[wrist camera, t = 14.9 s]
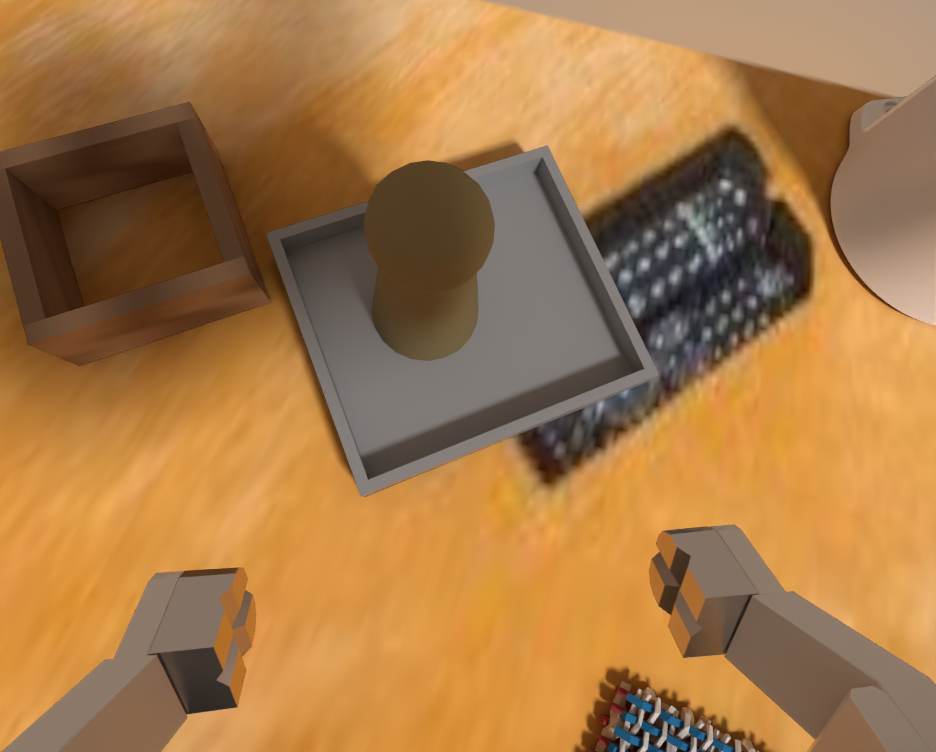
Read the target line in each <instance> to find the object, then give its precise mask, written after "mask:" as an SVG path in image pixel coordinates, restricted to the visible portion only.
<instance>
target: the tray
mask: <svg viewBox="0 0 936 752" xmlns="http://www.w3.org/2000/svg"><path fill="white" fill-rule="evenodd" d="M464 172H465V173H466V174H467V175H469V176H470V177H471V178H472V179H473V180H475V181H476V182H477V183H478V184H479V185H480V186H481V188H482V190H483V191H484V193H485V194H486V196H487V197H488V199H489V201H490V205H491V209H492V213H493V216H494V221H495V230H494V242H493V245H492V248H491V251H490V253H489V255H488V257H487V259H486V262H485V264H484V266H483V267H482V268H481V269H480V270H479V271H478V272H477V283H478V307H479V308H478V319H477V325H476V327H475V329H474V332H473V334H472V336H471V338H470V339H469V340H468V341H467V342H466V343H465V344H464V346H463V347H462V348H461V349H460V350H458V351H456V352H455V353H453V354H451V355H449V356H447V357H445V358H441V359H436V360H431V361H424V360H415V359H410V358H408V357H405V356H403V355H401V354H398V353H396V352H395V351H394V350H393V349H391V348H390V347H389V346H388V345H387V344H386V343H385V342H383V340H382V339H381V337H380V335H379V333H378V332H377V330H376V328H375V326H374V321H373V316H372V304H373V297H374V291H375V284H376V277H377V271H378V266H377V264H376V262H375V261H374V259H373V257H372V256H371V254H370V252H369V249H368V245H367V240H366V235H365V230H364V221H365V214H366V207H367V204H368V201H367V202H364V203H360V204H357V205H354V206H351V207H347V208H344V209H341V210H338V211H335V212H331V213H328V214H325V215H322V216H319V217H315V218H312V219H309V220H306V221H302V222H299V223H296V224H293V225H290V226H286V227H283V228H280V229H277V230H273V231H270V232H267V233H266V236H267V239H268V241H269V244H270V247H271V250H272V252H273V255H274V258H275V261H276V263H277V266H278V269H279V272H280V274H281V277H282V280H283V283H284V285H285V288H286V291H287V294H288V297H289V299H290V302H291V305H292V308H293V310H294V313H295V316H296V319H297V321H298V324H299V327H300V330H301V332H302V335H303V338H304V341H305V344H306V346H307V349H308V352H309V355H310V357H311V360H312V363H313V366H314V368H315V371H316V374H317V377H318V379H319V382H320V385H321V388H322V390H323V393H324V396H325V399H326V402H327V404H328V407H329V410H330V413H331V415H332V418H333V421H334V424H335V426H336V429H337V432H338V435H339V437H340V440H341V443H342V446H343V449H344V451H345V454H346V457H347V460H348V462H349V465H350V468H351V471H352V473H353V476H354V479H355V482H356V484H357V487H358V490H359V493H360V496H364V497H366V496H368V495H371V494H373V493H376V492H378V491H381V490H383V489H385V488H388V487H390V486H393V485H395V484H398V483H400V482H403V481H405V480H408V479H410V478H412V477H415V476H417V475H420V474H422V473H425V472H427V471H430V470H432V469H435V468H437V467H440V466H442V465H444V464H447V463H449V462H452V461H454V460H457V459H459V458H462V457H464V456H467V455H469V454H471V453H474V452H476V451H479V450H481V449H484V448H486V447H489V446H491V445H494V444H496V443H498V442H501V441H503V440H506V439H508V438H511V437H513V436H516V435H518V434H521V433H523V432H526V431H528V430H530V429H533V428H535V427H538V426H540V425H543V424H545V423H548V422H550V421H553V420H555V419H557V418H560V417H562V416H565V415H567V414H570V413H572V412H575V411H577V410H580V409H582V408H584V407H587V406H589V405H592V404H594V403H597V402H599V401H602V400H604V399H607V398H609V397H612V396H614V395H616V394H619V393H621V392H624V391H626V390H629V389H631V388H634V387H636V386H639V385H641V384H643V383H645V382H647V381H648V380H650V379H652V378H654V377H656V376H658V375H659V374H658V372H657V370H656V368H655V366H654V364H653V362H652V359H651V357H650V355H649V353H648V351H647V349H646V347H645V345H644V343H643V341H642V339H641V337H640V335H639V333H638V331H637V329H636V327H635V324H634V322H633V320H632V318H631V316H630V314H629V312H628V310H627V308H626V306H625V304H624V302H623V300H622V298H621V296H620V294H619V292H618V289H617V287H616V285H615V283H614V281H613V279H612V277H611V275H610V273H609V271H608V269H607V267H606V265H605V263H604V261H603V259H602V257H601V255H600V252H599V250H598V248H597V246H596V244H595V242H594V240H593V238H592V236H591V234H590V232H589V230H588V228H587V226H586V224H585V222H584V220H583V217H582V215H581V213H580V211H579V209H578V207H577V205H576V203H575V201H574V199H573V197H572V195H571V193H570V191H569V189H568V187H567V185H566V182H565V180H564V178H563V176H562V174H561V172H560V170H559V168H558V166H557V164H556V162H555V160H554V158H553V156H552V154H551V152H550V150H549V148H548V145H547V146H544V147H541V148H537V149H534V150H531V151H528V152H524V153H521V154H518V155H515V156H512V157H508V158H505V159H502V160H499V161H496V162H492V163H489V164H486V165H483V166H479V167H476V168H473V169H470V170H467V171H464Z"/></svg>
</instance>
